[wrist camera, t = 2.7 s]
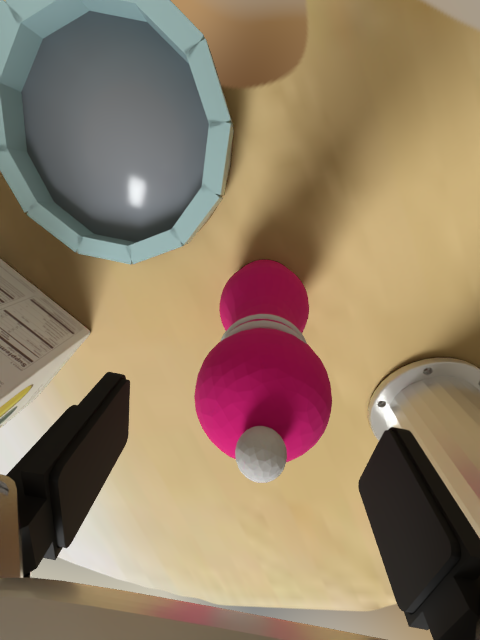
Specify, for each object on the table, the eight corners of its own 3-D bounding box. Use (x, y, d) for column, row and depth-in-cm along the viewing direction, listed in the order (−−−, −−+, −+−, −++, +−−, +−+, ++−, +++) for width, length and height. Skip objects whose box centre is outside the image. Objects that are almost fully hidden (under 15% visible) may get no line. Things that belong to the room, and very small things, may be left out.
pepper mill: (314, 306, 28) (413, 517, 9) (249, 337, 29) (221, 564, 11) (281, 239, 25) (321, 336, 7) (212, 276, 27) (102, 433, 9)
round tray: (252, 22, 20) (249, -8, 17) (214, 271, 27) (208, 280, 24) (2, -27, 20) (-43, -66, 17) (29, 234, 27) (1, 238, 24)
